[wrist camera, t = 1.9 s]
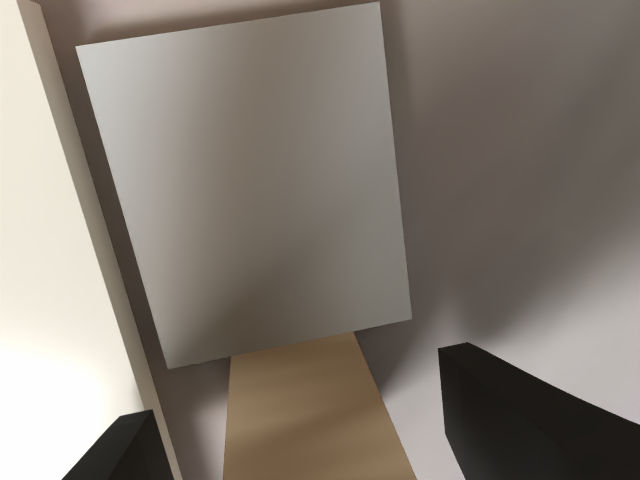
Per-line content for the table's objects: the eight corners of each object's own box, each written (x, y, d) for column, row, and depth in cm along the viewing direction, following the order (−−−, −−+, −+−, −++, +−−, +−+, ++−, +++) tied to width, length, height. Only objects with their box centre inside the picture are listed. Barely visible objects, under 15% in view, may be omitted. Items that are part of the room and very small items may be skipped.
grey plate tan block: (371, 6, 9) (592, -141, 3) (414, 403, 11) (576, 713, 6) (86, 49, 8) (-252, -34, 3) (199, 450, 11) (147, 835, 5)
